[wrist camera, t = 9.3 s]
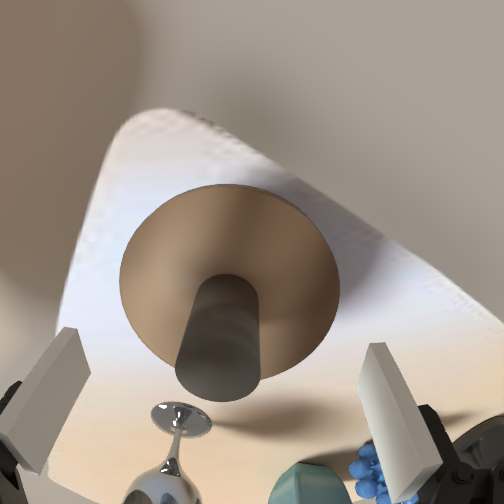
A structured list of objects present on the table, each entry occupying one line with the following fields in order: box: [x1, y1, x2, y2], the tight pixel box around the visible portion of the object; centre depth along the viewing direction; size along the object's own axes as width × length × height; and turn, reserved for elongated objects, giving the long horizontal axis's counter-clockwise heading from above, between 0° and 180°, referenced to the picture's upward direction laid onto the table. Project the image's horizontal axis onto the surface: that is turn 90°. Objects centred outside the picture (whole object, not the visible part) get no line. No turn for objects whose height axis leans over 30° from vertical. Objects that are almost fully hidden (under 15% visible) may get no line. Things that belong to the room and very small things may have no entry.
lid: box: [119, 184, 340, 402], centre depth 16 cm, size 13×13×7 cm
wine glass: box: [121, 402, 211, 504], centre depth 26 cm, size 8×8×15 cm
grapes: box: [349, 444, 419, 504], centre depth 29 cm, size 12×7×12 cm, turn 98°
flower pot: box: [268, 463, 352, 504], centre depth 33 cm, size 9×9×9 cm
